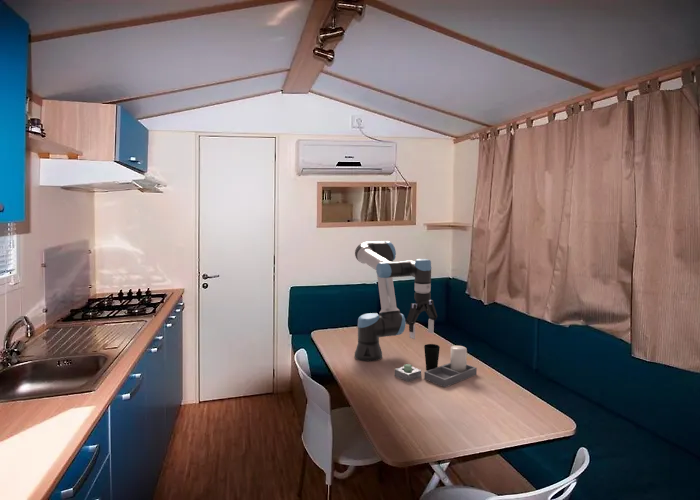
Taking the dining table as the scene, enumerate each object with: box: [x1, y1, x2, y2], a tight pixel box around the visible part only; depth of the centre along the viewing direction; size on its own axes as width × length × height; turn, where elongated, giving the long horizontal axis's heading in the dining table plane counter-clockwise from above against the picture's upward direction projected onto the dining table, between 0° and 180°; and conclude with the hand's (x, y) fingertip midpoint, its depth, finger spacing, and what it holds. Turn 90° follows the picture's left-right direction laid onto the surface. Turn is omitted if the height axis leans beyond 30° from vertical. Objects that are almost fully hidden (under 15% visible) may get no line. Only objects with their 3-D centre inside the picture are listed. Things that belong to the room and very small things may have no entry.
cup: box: [423, 343, 440, 371], centre depth 209 cm, size 8×8×12 cm
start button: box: [403, 363, 413, 372], centre depth 200 cm, size 4×4×4 cm
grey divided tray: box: [423, 362, 478, 388], centre depth 200 cm, size 12×24×4 cm, turn 128°
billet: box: [449, 345, 468, 373], centre depth 203 cm, size 8×8×12 cm
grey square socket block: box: [394, 365, 422, 383], centre depth 200 cm, size 9×9×4 cm
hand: (421, 335), depth 198 cm, fingers open, 13 cm apart
